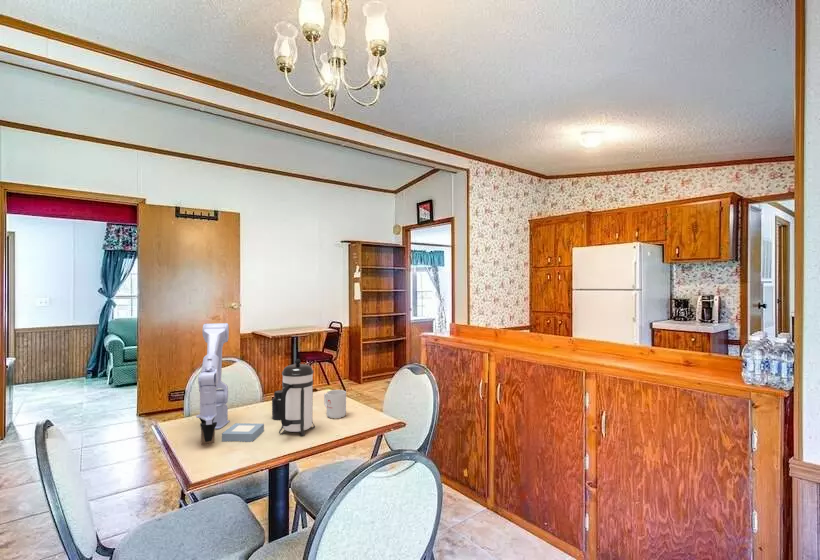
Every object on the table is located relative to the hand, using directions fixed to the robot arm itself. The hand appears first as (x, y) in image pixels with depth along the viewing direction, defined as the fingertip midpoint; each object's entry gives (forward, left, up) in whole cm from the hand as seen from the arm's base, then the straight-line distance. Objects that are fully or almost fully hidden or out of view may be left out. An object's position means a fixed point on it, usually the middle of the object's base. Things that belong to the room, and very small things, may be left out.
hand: (207, 438), depth 161 cm
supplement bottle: (-30, +18, -2) cm, 35 cm away
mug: (-34, +42, -2) cm, 54 cm away
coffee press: (-12, +31, -2) cm, 33 cm away
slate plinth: (-7, +11, -2) cm, 13 cm away
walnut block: (0, 0, -2) cm, 2 cm away
